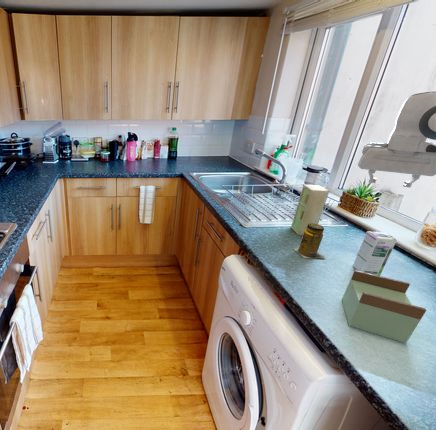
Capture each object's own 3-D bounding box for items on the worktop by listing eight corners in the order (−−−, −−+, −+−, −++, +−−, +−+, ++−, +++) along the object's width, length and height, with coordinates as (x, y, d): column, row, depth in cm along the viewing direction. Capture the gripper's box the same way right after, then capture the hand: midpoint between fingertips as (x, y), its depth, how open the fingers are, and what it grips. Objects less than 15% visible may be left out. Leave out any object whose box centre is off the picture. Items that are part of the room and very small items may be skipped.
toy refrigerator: (288, 227, 132) (301, 183, 124) (305, 228, 131) (320, 185, 123) (296, 235, 125) (310, 190, 116) (314, 236, 124) (330, 191, 116)
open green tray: (392, 313, 82) (409, 282, 78) (406, 343, 73) (426, 310, 68) (341, 299, 88) (354, 269, 83) (348, 325, 78) (363, 293, 73)
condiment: (293, 248, 115) (301, 221, 110) (314, 249, 115) (323, 222, 110) (303, 258, 108) (313, 230, 103) (326, 259, 108) (337, 231, 103)
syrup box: (361, 274, 100) (378, 238, 93) (351, 265, 105) (367, 230, 99) (379, 276, 99) (398, 240, 93) (369, 266, 104) (385, 231, 98)
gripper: (367, 142, 97) (354, 182, 102) (451, 148, 88) (431, 191, 93) (363, 141, 102) (350, 178, 107) (441, 146, 93) (423, 187, 98)
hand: (388, 184), depth 100 cm, fingers open, 8 cm apart
